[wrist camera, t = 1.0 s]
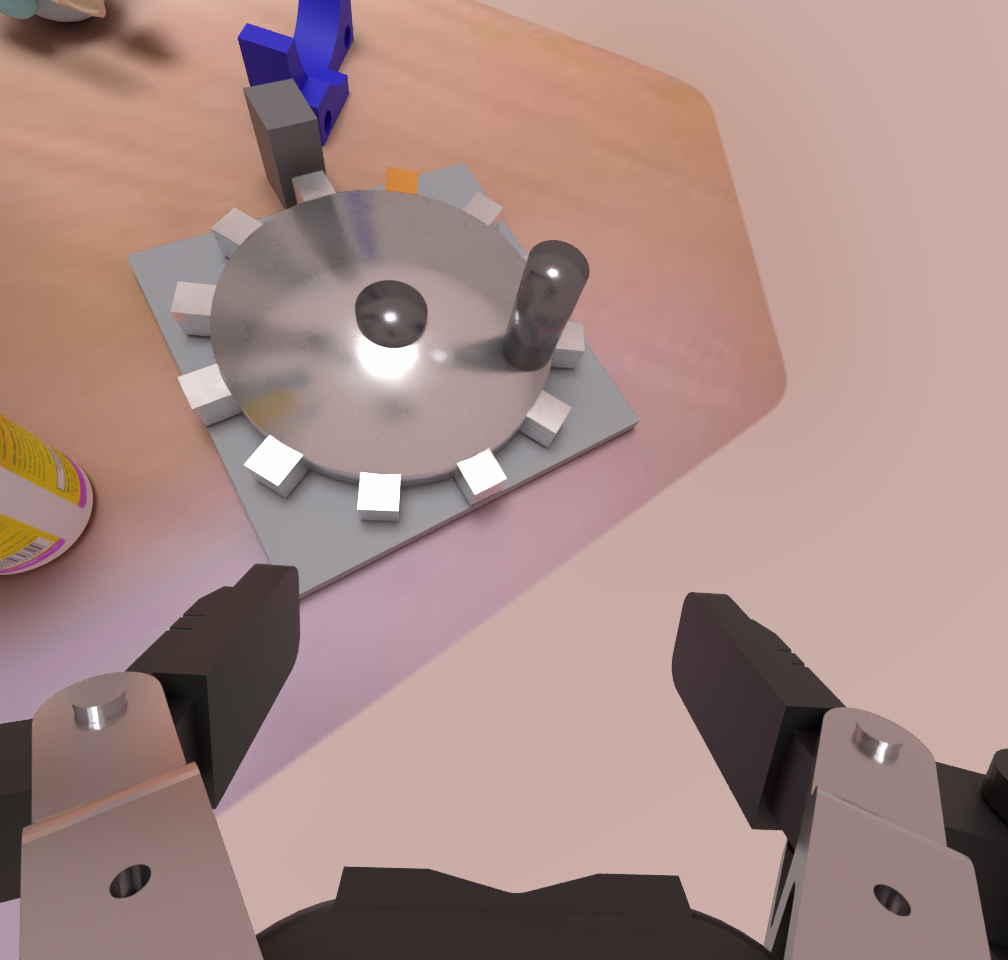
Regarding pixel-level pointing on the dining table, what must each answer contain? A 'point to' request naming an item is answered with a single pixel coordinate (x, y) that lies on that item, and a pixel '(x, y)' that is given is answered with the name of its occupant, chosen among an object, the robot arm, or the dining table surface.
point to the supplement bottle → (38, 500)
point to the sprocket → (383, 339)
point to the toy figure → (54, 9)
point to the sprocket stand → (318, 498)
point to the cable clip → (305, 57)
